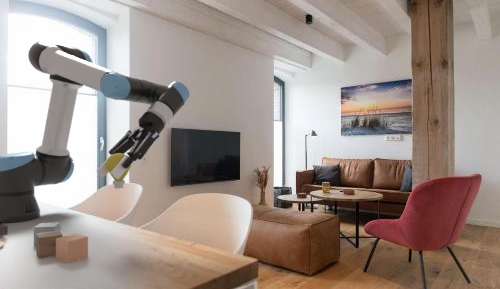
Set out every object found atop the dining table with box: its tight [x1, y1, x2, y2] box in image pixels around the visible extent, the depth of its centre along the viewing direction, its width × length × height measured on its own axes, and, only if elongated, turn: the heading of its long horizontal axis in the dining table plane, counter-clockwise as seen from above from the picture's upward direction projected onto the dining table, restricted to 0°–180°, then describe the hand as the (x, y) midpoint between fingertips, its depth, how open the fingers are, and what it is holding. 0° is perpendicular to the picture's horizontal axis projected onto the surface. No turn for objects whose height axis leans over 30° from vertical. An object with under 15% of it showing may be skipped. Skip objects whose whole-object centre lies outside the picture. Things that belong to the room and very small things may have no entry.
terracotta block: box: [55, 233, 89, 264], centre depth 83 cm, size 5×5×5 cm
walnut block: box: [35, 230, 64, 259], centre depth 87 cm, size 5×5×5 cm
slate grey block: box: [33, 221, 61, 247], centre depth 96 cm, size 5×5×5 cm
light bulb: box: [106, 153, 132, 189], centre depth 100 cm, size 7×7×10 cm
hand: (107, 175), depth 98 cm, fingers closed on light bulb, 7 cm apart
